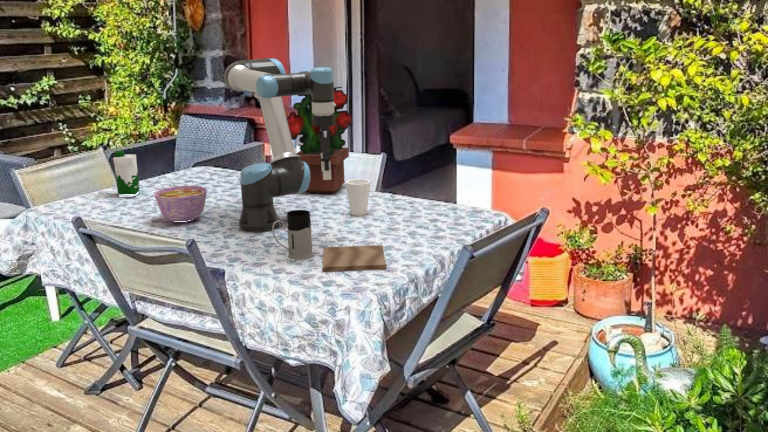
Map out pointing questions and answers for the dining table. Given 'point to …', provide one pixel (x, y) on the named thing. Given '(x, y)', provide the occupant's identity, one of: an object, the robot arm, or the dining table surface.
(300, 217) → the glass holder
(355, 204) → the foam cup
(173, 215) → the bowl of food
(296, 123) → the potted plant
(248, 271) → the dining table surface
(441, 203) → the dining table surface
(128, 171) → the mojito glass
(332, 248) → the walnut board
